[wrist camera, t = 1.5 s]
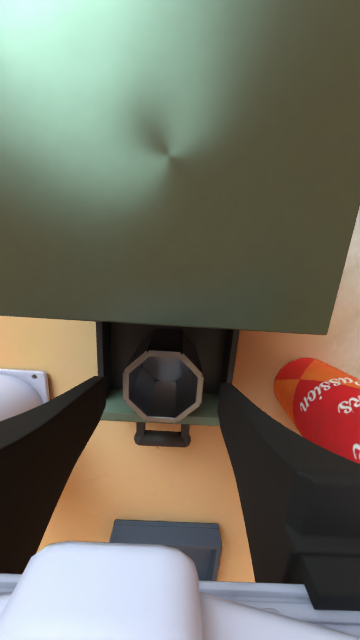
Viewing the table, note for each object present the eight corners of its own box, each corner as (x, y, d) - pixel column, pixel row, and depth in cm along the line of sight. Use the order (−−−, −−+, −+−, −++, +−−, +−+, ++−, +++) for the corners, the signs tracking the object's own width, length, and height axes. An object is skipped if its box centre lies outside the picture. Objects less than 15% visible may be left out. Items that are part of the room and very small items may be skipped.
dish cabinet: (95, 293, 17) (-11, 315, 8) (89, 138, 14) (-89, -136, 5) (245, 303, 17) (327, 335, 8) (267, 152, 15) (433, -79, 5)
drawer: (108, 423, 19) (93, 456, 16) (105, 278, 16) (84, 278, 12) (218, 428, 19) (227, 462, 16) (237, 286, 16) (253, 289, 13)
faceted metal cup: (138, 380, 17) (122, 420, 13) (139, 327, 16) (122, 348, 11) (193, 383, 18) (199, 424, 13) (198, 330, 16) (206, 353, 12)
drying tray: (116, 577, 26) (111, 603, 24) (115, 519, 24) (109, 542, 21) (209, 580, 26) (212, 606, 24) (218, 523, 24) (222, 546, 22)
